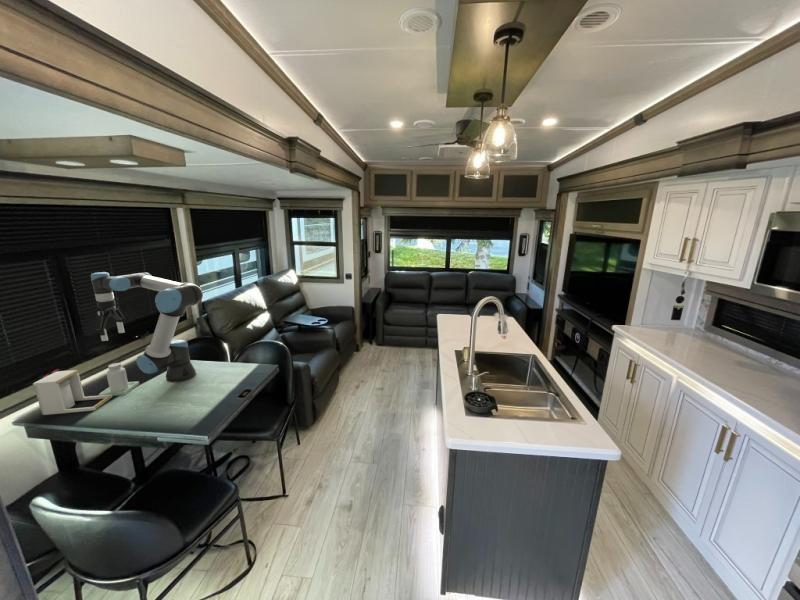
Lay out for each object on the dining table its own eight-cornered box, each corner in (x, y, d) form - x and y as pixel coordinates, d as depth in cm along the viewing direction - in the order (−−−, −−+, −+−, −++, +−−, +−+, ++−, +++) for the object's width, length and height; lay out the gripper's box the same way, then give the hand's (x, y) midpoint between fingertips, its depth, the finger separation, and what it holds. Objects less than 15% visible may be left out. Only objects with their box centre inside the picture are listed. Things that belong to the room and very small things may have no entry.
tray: (139, 384, 185) (138, 381, 185) (125, 394, 173) (124, 391, 173) (115, 385, 183) (114, 383, 183) (99, 396, 171) (98, 394, 171)
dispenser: (112, 396, 171) (105, 367, 167) (94, 410, 159) (86, 379, 155) (64, 401, 168) (56, 371, 164) (42, 415, 155) (32, 383, 151)
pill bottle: (118, 393, 173) (112, 368, 170) (106, 392, 175) (100, 367, 172) (132, 386, 181) (127, 362, 178) (121, 385, 183) (116, 361, 179)
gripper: (113, 295, 187) (121, 330, 192) (79, 306, 163) (89, 344, 168) (127, 295, 188) (134, 329, 193) (96, 305, 164) (105, 343, 169)
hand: (113, 336), depth 181 cm, fingers open, 13 cm apart
